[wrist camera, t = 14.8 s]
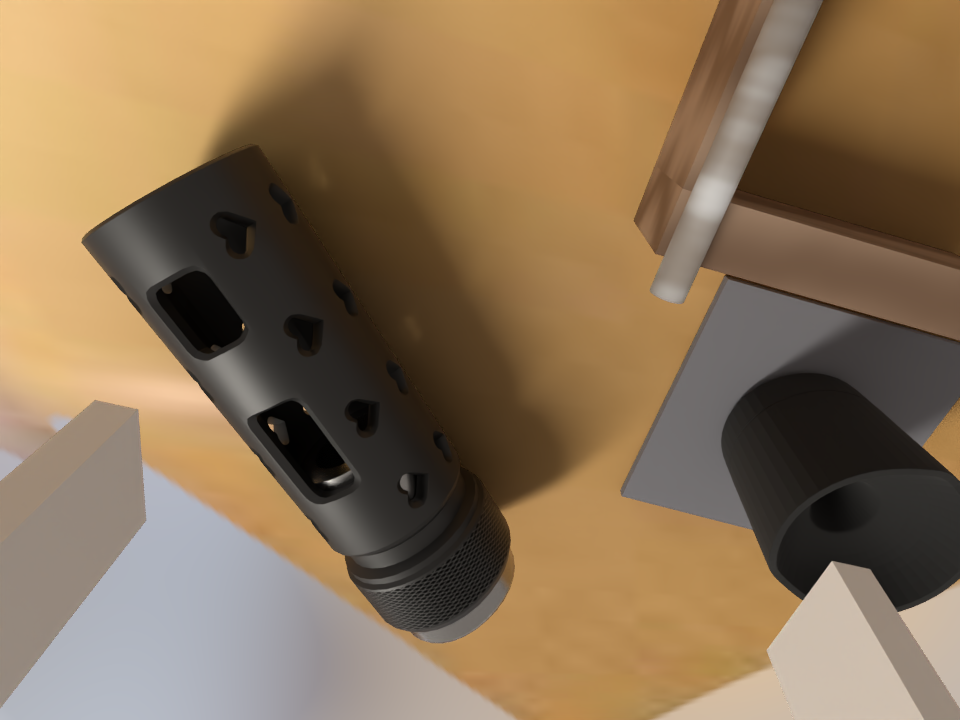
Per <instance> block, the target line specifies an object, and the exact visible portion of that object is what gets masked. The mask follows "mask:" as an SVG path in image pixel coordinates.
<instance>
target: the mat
mask: <svg viewBox="0 0 960 720" xmlns="http://www.w3.org/2000/svg"><path fill="white" fill-rule="evenodd" d="M798 373H818V374H824V375H829V376H832V377H835V378H838V379H840V380H842V381H844V382H846V383H848V384H849V385H851V386H852V387H853V388H855V389H856V390H857V391H859V392H860V393H861V394H862V395H863V396H864V397H866V398H867V399H868V400H869V401H870V402H871V403H873V404H874V405H875V406H876V407H877V408H879V409H880V410H881V411H882V412H883V413H884V414H885V415H886V416H888V417H889V418H890V419H891V420H892V421H893V422H894V423H895V424H897V425H898V426H899V427H900V428H901V429H902V430H903V431H904V432H906V433H907V434H908V435H909V436H910V437H911V438H912V439H913V440H915V441H916V442H917V443H918V444H919V445H920V446H921V447H922V446H923V445H924V443H925V442H926V441H927V439H928V438H929V437H930V435H931V434H932V433H933V431H934V430H935V429H936V427H937V426H938V425H939V423H940V422H941V421H942V420H943V418H944V417H945V416H946V414H947V413H948V412H949V410H950V409H951V408H952V406H953V405H954V404H955V402H956V401H957V400H958V398H959V397H960V343H959V342H956V341H952V340H949V339H945V338H942V337H938V336H935V335H931V334H928V333H924V332H921V331H917V330H914V329H910V328H907V327H903V326H900V325H896V324H893V323H889V322H886V321H882V320H879V319H875V318H872V317H868V316H865V315H861V314H858V313H854V312H851V311H847V310H844V309H840V308H837V307H833V306H830V305H826V304H823V303H819V302H816V301H812V300H809V299H805V298H802V297H798V296H795V295H791V294H788V293H784V292H780V291H777V290H773V289H770V288H766V287H763V286H759V285H756V284H752V283H749V282H745V281H742V280H738V279H735V278H731V277H728V276H724V279H723V281H722V283H721V285H720V287H719V289H718V291H717V293H716V295H715V297H714V299H713V301H712V303H711V305H710V307H709V309H708V311H707V313H706V316H705V318H704V320H703V322H702V324H701V326H700V328H699V330H698V332H697V334H696V336H695V338H694V340H693V342H692V344H691V346H690V348H689V350H688V353H687V355H686V357H685V359H684V361H683V363H682V365H681V367H680V369H679V371H678V373H677V375H676V377H675V379H674V381H673V383H672V385H671V387H670V390H669V392H668V394H667V396H666V398H665V400H664V402H663V404H662V406H661V408H660V410H659V412H658V414H657V416H656V418H655V420H654V422H653V424H652V427H651V429H650V431H649V433H648V435H647V437H646V439H645V441H644V443H643V445H642V447H641V449H640V451H639V453H638V455H637V457H636V459H635V461H634V464H633V466H632V468H631V470H630V472H629V474H628V476H627V478H626V480H625V482H624V484H623V486H622V488H621V490H620V491H621V495H622V496H623V497H627V498H631V499H635V500H639V501H643V502H646V503H650V504H654V505H658V506H662V507H666V508H670V509H674V510H678V511H681V512H685V513H689V514H693V515H697V516H701V517H705V518H709V519H713V520H716V521H720V522H724V523H728V524H732V525H736V526H740V527H744V528H748V529H751V530H753V529H752V526H751V524H750V521H749V519H748V517H747V514H746V512H745V510H744V507H743V505H742V502H741V500H740V498H739V495H738V493H737V490H736V488H735V486H734V483H733V480H732V478H731V475H730V473H729V470H728V468H727V465H726V463H725V460H724V457H723V453H722V448H721V437H722V431H723V427H724V424H725V422H726V420H727V418H728V416H729V414H730V413H731V411H732V409H733V408H734V407H735V406H736V405H737V403H738V402H739V401H740V400H741V399H742V398H743V397H744V396H746V395H747V394H748V393H750V392H751V391H752V390H754V389H755V388H757V387H758V386H760V385H762V384H764V383H766V382H768V381H771V380H773V379H776V378H779V377H782V376H786V375H791V374H798Z"/></svg>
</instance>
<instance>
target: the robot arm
mask: <svg viewBox="0 0 960 720" xmlns="http://www.w3.org/2000/svg"><path fill="white" fill-rule="evenodd" d="M145 521H146V512H145V499H144V484H143V470H142V456H141V442H140V427H139V413H138V409H133V408H129V407H124V406H120V405H115V404H110V403H106V402H101V401H97V400H95V401H94V402H92V403H91V404H90V405H89V406H88V407H87V408H85V409H84V410H83V411H82V412H81V413H80V414H78V415H77V416H76V417H75V418H74V419H73V420H71V421H70V422H69V423H68V424H67V425H66V426H64V427H63V428H62V429H61V430H60V431H59V432H57V433H56V434H55V435H54V436H53V437H52V438H50V439H49V440H48V441H47V442H46V443H45V444H43V445H42V446H41V447H40V448H39V449H38V450H36V451H35V452H34V453H33V454H32V455H30V456H29V457H28V458H27V459H26V460H25V461H23V462H22V463H21V464H20V465H19V466H18V467H16V468H15V469H14V470H13V471H12V472H11V473H9V474H8V475H7V476H6V477H5V478H4V479H2V480H1V481H0V708H1V707H2V705H3V704H4V703H5V702H6V700H7V699H8V698H9V696H10V695H11V694H12V693H13V691H14V690H15V689H16V687H17V686H18V685H19V684H20V682H21V681H22V680H23V678H24V677H25V676H26V675H27V673H28V672H29V671H30V669H31V668H32V667H33V665H34V664H35V663H36V662H37V660H38V659H39V658H40V656H41V655H42V654H43V653H44V651H45V650H46V649H47V647H48V646H49V645H50V644H51V642H52V641H53V640H54V638H55V637H56V636H57V635H58V633H59V632H60V631H61V629H62V628H63V627H64V625H65V624H66V623H67V621H68V620H69V619H70V618H71V617H72V615H73V614H74V613H75V611H76V610H77V609H78V607H79V606H80V605H81V604H82V602H83V601H84V600H85V599H86V597H87V596H88V595H89V593H90V592H91V591H92V590H93V588H94V587H95V586H96V584H97V583H98V582H99V581H100V579H101V578H102V576H103V575H104V574H105V573H106V571H107V570H108V569H109V568H110V566H111V565H112V564H113V562H114V561H115V560H116V558H117V557H118V556H119V555H120V553H121V552H122V551H123V550H124V548H125V547H126V546H127V544H128V543H129V542H130V541H131V539H132V538H133V537H134V535H135V534H136V533H137V532H138V530H139V529H140V528H141V526H142V525H143V524H144V523H145ZM767 653H768V655H769V658H770V660H771V663H772V665H773V668H774V670H775V673H776V676H777V678H778V681H779V683H780V686H781V688H782V691H783V693H784V696H785V699H786V701H787V704H788V706H789V709H790V711H791V714H792V717H793V719H794V720H960V708H959V707H958V705H957V704H956V702H955V701H954V699H953V697H952V696H951V694H950V693H949V691H948V690H947V689H946V687H945V685H944V684H943V682H942V680H941V679H940V677H939V676H938V675H937V673H936V671H935V670H934V668H933V666H932V665H931V664H930V662H929V660H928V659H927V657H926V655H925V654H924V653H923V651H922V649H921V648H920V646H919V645H918V643H917V641H916V640H915V639H914V637H913V635H912V634H911V632H910V631H909V629H908V627H907V626H906V624H905V623H904V621H903V620H902V618H901V617H900V615H899V613H898V612H897V610H896V609H895V607H894V606H893V604H892V603H891V601H890V599H889V598H888V596H887V595H886V593H885V592H884V590H883V589H882V587H881V585H880V584H879V582H878V581H877V579H876V578H875V576H874V575H873V573H872V571H871V570H870V569H867V568H862V567H858V566H853V565H849V564H844V563H839V562H835V561H831V563H830V564H829V566H828V567H827V568H826V570H825V571H824V572H823V574H822V575H821V577H820V578H819V579H818V581H817V582H816V583H815V585H814V586H813V587H812V589H811V590H810V592H809V593H808V594H807V596H806V597H805V598H804V600H803V601H802V603H801V604H800V605H799V607H798V608H797V609H796V611H795V612H794V614H793V615H792V616H791V618H790V619H789V620H788V622H787V623H786V624H785V626H784V627H783V629H782V630H781V631H780V633H779V634H778V635H777V637H776V638H775V640H774V641H773V642H772V644H771V645H770V646H769V648H768V649H767Z"/></svg>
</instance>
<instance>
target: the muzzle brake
mask: <svg viewBox="0 0 960 720" xmlns="http://www.w3.org/2000/svg"><path fill="white" fill-rule="evenodd" d="M82 244H83V245H84V246H85V248H86V249H87V250H88V251H89V252H90V254H91V255H92V256H93V257H94V258H95V260H96V261H97V262H98V263H99V265H100V266H101V267H102V268H103V269H104V271H105V272H106V273H107V274H108V276H109V277H110V278H111V279H112V280H113V282H114V283H115V284H116V285H117V287H118V288H119V289H120V290H121V291H122V292H123V293H124V294H125V295H127V297H128V299H129V301H130V302H131V304H132V305H133V306H134V307H135V308H136V310H137V311H138V312H139V313H140V315H141V316H142V317H143V318H144V319H145V321H146V322H147V323H148V324H149V326H150V327H151V328H152V329H153V330H154V332H155V333H156V334H157V335H158V337H159V338H160V339H161V340H162V341H163V343H164V344H165V345H166V346H167V348H168V349H169V350H170V351H171V352H172V354H173V355H174V356H175V357H176V358H177V360H178V361H179V362H180V363H181V365H182V366H183V367H184V368H185V369H186V371H187V372H188V373H189V374H190V376H191V377H192V378H193V379H194V380H195V381H196V382H198V384H199V386H200V387H201V389H202V390H203V391H204V393H205V394H206V395H207V396H208V398H209V399H210V400H211V401H212V402H213V404H214V405H215V406H216V407H217V409H218V410H219V411H220V412H221V413H222V415H223V416H224V417H225V418H226V419H227V421H228V422H229V423H230V424H231V426H232V427H233V428H234V429H235V430H236V432H237V433H238V434H239V435H240V437H241V438H242V439H243V440H244V441H245V443H246V444H247V445H248V446H249V448H250V449H251V450H252V451H253V452H254V454H256V455H257V456H258V457H259V459H260V461H261V462H262V463H263V465H264V466H265V467H266V468H267V469H268V471H269V472H270V473H271V474H272V476H273V477H274V478H275V479H276V480H277V482H278V483H279V484H280V485H281V487H282V488H283V489H284V490H285V491H286V493H287V494H288V495H289V496H290V498H291V499H292V500H293V501H294V502H295V504H296V505H297V506H298V507H299V509H300V510H301V511H302V512H303V513H304V515H305V516H306V517H307V518H308V519H309V520H311V522H312V524H313V525H314V527H315V528H316V529H317V530H318V532H319V533H320V534H321V535H322V537H323V538H324V539H325V540H326V541H327V543H328V544H329V545H330V546H331V548H332V549H333V550H334V551H336V552H338V553H340V554H342V555H345V561H346V564H347V570H348V573H349V576H350V579H351V580H352V581H353V583H354V584H355V585H356V586H357V588H358V589H359V590H360V591H361V592H362V594H363V595H364V596H365V597H366V598H367V600H368V601H369V602H370V603H371V604H372V606H373V607H374V608H375V609H376V611H377V612H378V613H379V614H380V615H381V617H382V618H383V619H384V620H385V621H386V622H387V623H389V624H390V625H392V626H393V627H395V628H398V629H402V630H406V631H410V632H411V633H412V634H413V635H414V636H415V637H417V638H419V639H420V640H423V641H426V642H430V643H446V642H451V641H454V640H457V639H459V638H462V637H464V636H466V635H468V634H469V633H471V632H473V631H474V630H476V629H477V628H478V627H480V626H481V625H482V624H483V623H484V622H486V621H487V620H488V619H489V618H490V617H491V616H492V615H493V614H494V612H495V611H496V610H497V609H498V607H499V606H500V605H501V603H502V602H503V601H504V599H505V597H506V595H507V593H508V591H509V589H510V587H511V584H512V581H513V577H514V569H515V565H514V556H513V554H512V551H511V549H510V542H511V539H510V530H509V527H508V524H507V522H506V519H505V518H504V516H503V515H502V513H501V512H500V510H499V508H498V507H497V505H496V504H495V502H494V501H493V499H492V497H491V496H490V494H489V493H488V491H487V490H486V488H485V487H484V485H483V483H482V482H481V481H480V480H479V479H478V478H477V476H476V475H474V474H473V473H471V472H469V471H468V470H466V469H464V468H462V467H460V459H459V456H458V453H457V452H456V450H455V449H454V447H453V446H452V444H451V443H450V441H449V440H448V438H447V436H446V435H445V433H444V432H443V430H442V429H441V427H440V426H439V424H438V423H437V421H436V419H435V418H434V416H433V415H432V413H431V412H430V410H429V409H428V407H427V405H426V404H425V402H424V401H423V399H422V398H421V396H420V395H419V393H418V392H417V390H416V388H415V387H414V385H413V384H412V382H411V381H410V379H409V378H408V376H407V375H406V373H405V371H404V370H403V368H402V367H401V365H400V364H399V362H398V361H397V359H396V358H395V356H394V354H393V353H392V351H391V350H390V348H389V347H388V345H387V344H386V342H385V340H384V339H383V337H382V336H381V334H380V333H379V331H378V330H377V328H376V327H375V325H374V323H373V322H372V320H371V319H370V317H369V316H368V314H367V313H366V311H365V310H364V308H363V306H362V305H361V303H360V302H359V300H358V299H357V297H356V296H355V294H354V293H353V291H352V289H351V288H350V286H349V285H348V283H347V282H346V280H345V279H344V277H343V275H342V274H341V272H340V271H339V269H338V268H337V266H336V265H335V263H334V262H333V260H332V258H331V257H330V255H329V254H328V252H327V251H326V249H325V248H324V246H323V245H322V243H321V241H320V240H319V238H318V237H317V235H316V234H315V232H314V231H313V229H312V228H311V226H310V224H309V223H308V221H307V220H306V218H305V217H304V215H303V214H302V212H301V210H300V209H299V207H298V206H297V204H296V203H295V201H294V200H293V198H292V197H291V195H290V193H289V192H288V190H287V189H286V187H285V186H284V184H283V183H282V181H281V180H280V178H279V176H278V175H277V173H276V172H275V170H274V169H273V167H272V166H271V164H270V163H269V161H268V159H267V158H266V156H265V155H264V153H263V152H262V150H261V149H260V147H259V146H258V145H254V144H250V145H247V146H243V147H241V148H238V149H236V150H233V151H231V152H229V153H226V154H224V155H222V156H220V157H218V158H216V159H213V160H211V161H209V162H207V163H205V164H203V165H201V166H199V167H197V168H195V169H193V170H191V171H189V172H187V173H186V174H184V175H182V176H180V177H178V178H176V179H174V180H172V181H170V182H169V183H167V184H165V185H163V186H161V187H160V188H158V189H156V190H154V191H152V192H151V193H149V194H147V195H145V196H144V197H142V198H140V199H139V200H137V201H135V202H133V203H132V204H130V205H128V206H127V207H125V208H124V209H122V210H120V211H119V212H117V213H115V214H114V215H112V216H111V217H109V218H108V219H106V220H105V221H103V222H102V223H100V224H99V225H97V226H96V227H94V228H93V229H92V230H90V231H89V232H88V233H87V234H86V235H85V236H84V237H83V238H82ZM242 324H244V326H245V328H244V330H243V329H242ZM303 407H304V408H305V409H306V411H305V410H303ZM268 424H273V425H274V432H273V431H272V430H271V429H270V427H269V425H268Z"/></svg>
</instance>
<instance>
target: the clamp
mask: <svg viewBox="0 0 960 720" xmlns="http://www.w3.org/2000/svg"><path fill="white" fill-rule="evenodd" d="M822 2H823V0H720V2H719V4H718V7H717V9H716V12H715V14H714V17H713V19H712V22H711V25H710V27H709V30H708V32H707V35H706V37H705V40H704V42H703V45H702V48H701V50H700V53H699V55H698V58H697V60H696V63H695V65H694V68H693V70H692V73H691V76H690V78H689V81H688V83H687V86H686V88H685V91H684V93H683V96H682V98H681V101H680V104H679V106H678V109H677V111H676V114H675V116H674V119H673V121H672V124H671V127H670V129H669V132H668V134H667V137H666V139H665V142H664V144H663V147H662V149H661V152H660V155H659V157H658V160H657V162H656V165H655V167H654V170H653V172H652V175H651V177H650V180H649V183H648V185H647V188H646V190H645V193H644V195H643V198H642V200H641V203H640V206H639V208H638V211H637V213H636V216H635V218H634V222H635V224H636V225H637V227H638V228H639V230H640V231H641V233H642V234H643V236H644V237H645V239H646V240H647V242H648V243H649V245H650V246H651V248H652V249H653V251H654V252H655V254H658V255H662V256H664V257H663V260H662V262H661V264H660V267H659V269H658V271H657V274H656V276H655V278H654V281H653V283H652V285H651V288H650V292H651V293H652V294H653V295H655V296H657V297H658V298H660V299H663V300H665V301H668V302H671V303H676V304H682V303H684V301H685V298H686V296H687V294H688V292H689V290H690V288H691V286H692V283H693V281H694V279H695V277H696V275H697V273H698V270H699V268H700V267H704V268H707V269H711V270H714V271H718V272H721V273H725V274H728V275H732V276H735V277H739V278H742V279H746V280H749V281H753V282H756V283H760V284H763V285H767V286H770V287H774V288H777V289H781V290H784V291H788V292H791V293H795V294H798V295H802V296H805V297H809V298H812V299H816V300H819V301H823V302H826V303H830V304H833V305H837V306H840V307H844V308H847V309H851V310H854V311H858V312H861V313H865V314H868V315H872V316H875V317H879V318H882V319H886V320H889V321H893V322H896V323H900V324H903V325H907V326H910V327H914V328H917V329H921V330H924V331H928V332H931V333H935V334H938V335H942V336H945V337H949V338H952V339H956V340H959V341H960V256H958V255H956V254H953V253H950V252H946V251H943V250H940V249H936V248H933V247H930V246H926V245H923V244H919V243H916V242H913V241H909V240H906V239H902V238H899V237H896V236H892V235H889V234H886V233H882V232H879V231H875V230H872V229H869V228H865V227H862V226H858V225H855V224H852V223H848V222H845V221H842V220H838V219H835V218H831V217H828V216H825V215H821V214H818V213H815V212H811V211H808V210H804V209H801V208H798V207H794V206H791V205H787V204H784V203H781V202H777V201H774V200H771V199H767V198H764V197H760V196H757V195H754V194H750V193H747V192H743V191H740V190H737V189H736V188H737V186H738V184H739V182H740V180H741V177H742V175H743V173H744V171H745V169H746V167H747V164H748V162H749V160H750V158H751V156H752V154H753V151H754V149H755V147H756V145H757V143H758V141H759V139H760V136H761V134H762V132H763V130H764V128H765V126H766V123H767V121H768V119H769V117H770V115H771V113H772V110H773V108H774V106H775V104H776V102H777V100H778V97H779V95H780V93H781V91H782V89H783V87H784V84H785V82H786V80H787V78H788V76H789V74H790V71H791V69H792V67H793V65H794V63H795V61H796V59H797V56H798V54H799V52H800V50H801V48H802V46H803V43H804V41H805V39H806V37H807V35H808V33H809V30H810V28H811V26H812V24H813V22H814V20H815V17H816V15H817V13H818V11H819V9H820V7H821V4H822Z"/></svg>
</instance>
